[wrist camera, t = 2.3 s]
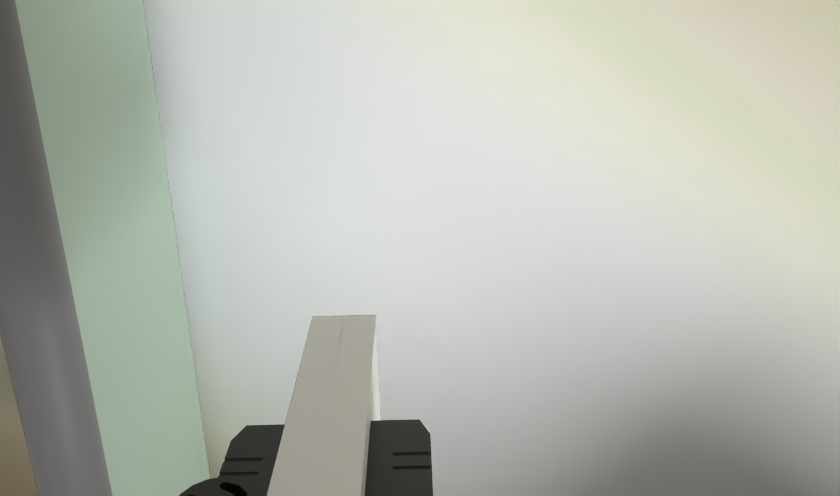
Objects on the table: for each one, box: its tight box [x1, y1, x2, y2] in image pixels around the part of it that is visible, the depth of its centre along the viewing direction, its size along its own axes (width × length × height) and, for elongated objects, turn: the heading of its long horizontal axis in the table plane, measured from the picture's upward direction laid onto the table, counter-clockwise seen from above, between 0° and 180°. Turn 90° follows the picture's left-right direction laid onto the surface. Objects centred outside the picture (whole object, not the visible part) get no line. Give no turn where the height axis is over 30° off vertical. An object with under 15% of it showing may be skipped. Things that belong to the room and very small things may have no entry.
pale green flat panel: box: [0, 0, 210, 496], centre depth 21 cm, size 21×2×9 cm, turn 1°
